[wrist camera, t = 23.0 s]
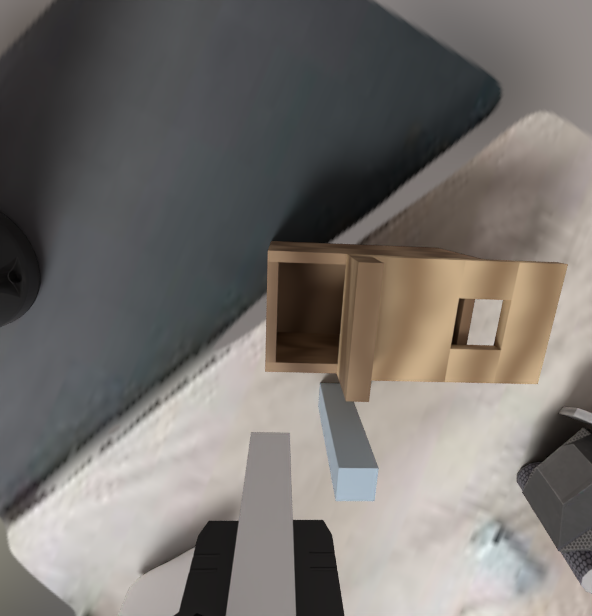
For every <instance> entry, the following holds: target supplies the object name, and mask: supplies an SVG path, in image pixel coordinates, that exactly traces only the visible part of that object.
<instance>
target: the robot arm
mask: <svg viewBox="0 0 592 616" xmlns="http://www.w3.org/2000/svg"><path fill="white" fill-rule="evenodd" d="M38 288H39V267H38V262H37V259H36V256H35V253H34V251H33V249H32V247H31V245H30V243H29V241H28V240H27V238H26V237H25V235H24V234H23V233H22V231H21V230H20V229H19V228H18V227H17V226H16V225H15V224H14V223H13V222H12V221H11V220H10V219H9V218H8V217H6V216H5V215H4V214H2V213H1V212H0V327H2V326H4V325H7V324H9V323H11V322H13V321H15V320H17V319H18V318H20V317H21V316H22V315H24V314H25V313H26V312H27V311H28V309H29V308H30V307H31V305H32V304H33V302H34V300H35V298H36V295H37V292H38ZM174 616H344V610H343V604H342V597H341V591H340V584H339V578H338V571H337V565H336V558H335V552H334V545H333V538H332V534H331V532H330V531H329V529H328V527H327V526H326V524H325V522H324V521H323V520H293V514H292V485H291V456H290V433H270V432H251V437H250V444H249V452H248V459H247V466H246V473H245V480H244V488H243V495H242V502H241V509H240V517H239V521H208V523H207V524H206V526H205V527H204V528H203V530H202V531H201V533H200V534H199V535H198V539H197V542H196V546H195V550H194V555H193V558H192V562H191V566H190V571H189V574H188V578H187V581H186V585H185V589H184V593H183V597H182V601H181V605H180V609H179V612H178V613H177V614H175V615H174Z"/></svg>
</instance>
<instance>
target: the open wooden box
mask: <svg viewBox="0 0 592 616" xmlns="http://www.w3.org/2000/svg"><path fill="white" fill-rule="evenodd" d="M347 254H358V255H384V256H409V257H434V258H460V259H480V258H476V257H472V256H468V255H464V254H460V253H456V252H452V251H448V250H444V249H440V248H428V247H404V246H379V245H355V244H330V243H306V242H281V241H271V243H270V246H269V249H268V270H267V315H266V360H265V372H303V373H337V366H338V354H339V342H340V330H341V317H342V305H343V293H344V281H345V269H346V257H347ZM474 302H475V299H465V298H459V302H458V307H457V313H456V319H455V325H454V330H453V336H452V342H451V344H452V345H467V340H468V334H469V329H470V323H471V318H472V313H473V307H474Z"/></svg>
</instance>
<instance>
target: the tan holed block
mask: <svg viewBox="0 0 592 616" xmlns="http://www.w3.org/2000/svg"><path fill="white" fill-rule="evenodd" d="M567 266H568V264H564V263H558V262H536V261H510V260H485V259H460V258H434V257H409V256H384V255H358V254H347V257H346V269H345V281H344V293H343V305H342V317H341V330H340V342H339V354H338V366H337V376H338V379H339V382H340V385H341V388H342V391H343V394H344V397H345V400H346V401H352V402H369V396H370V388H371V380H374V381H420V382H466V383H511V384H538V381H539V377H540V373H541V369H542V365H543V361H544V357H545V353H546V349H547V345H548V341H549V337H550V333H551V329H552V325H553V321H554V317H555V313H556V309H557V305H558V301H559V297H560V293H561V289H562V286H563V282H564V278H565V274H566V270H567ZM459 298H465V299H494V300H503V303H502V308H501V313H500V318H499V323H498V327H497V332H496V337H495V342H494V346H489V345H452V344H451V342H452V336H453V330H454V325H455V319H456V313H457V307H458V302H459Z"/></svg>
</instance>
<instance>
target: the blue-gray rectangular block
mask: <svg viewBox="0 0 592 616" xmlns="http://www.w3.org/2000/svg"><path fill="white" fill-rule="evenodd" d="M318 407H319V413H320V418H321V423H322V429H323V434H324V440H325V445H326V451H327V456H328V461H329V467H330V472H331V478H332V483H333V489H334V494H335V499H336V501H375V493H376V485H377V477H378V469H379V468H378V466H377V463H376V460H375V457H374V455H373V452H372V449H371V447H370V444H369V441H368V439H367V436H366V433H365V431H364V428H363V425H362V423H361V420H360V417H359V415H358V412H357V409H356V407H355V404H354V402H352V401H346V400H345V397H344V394H343V391H342V388H341V385H340V383H320V392H319V406H318Z"/></svg>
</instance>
